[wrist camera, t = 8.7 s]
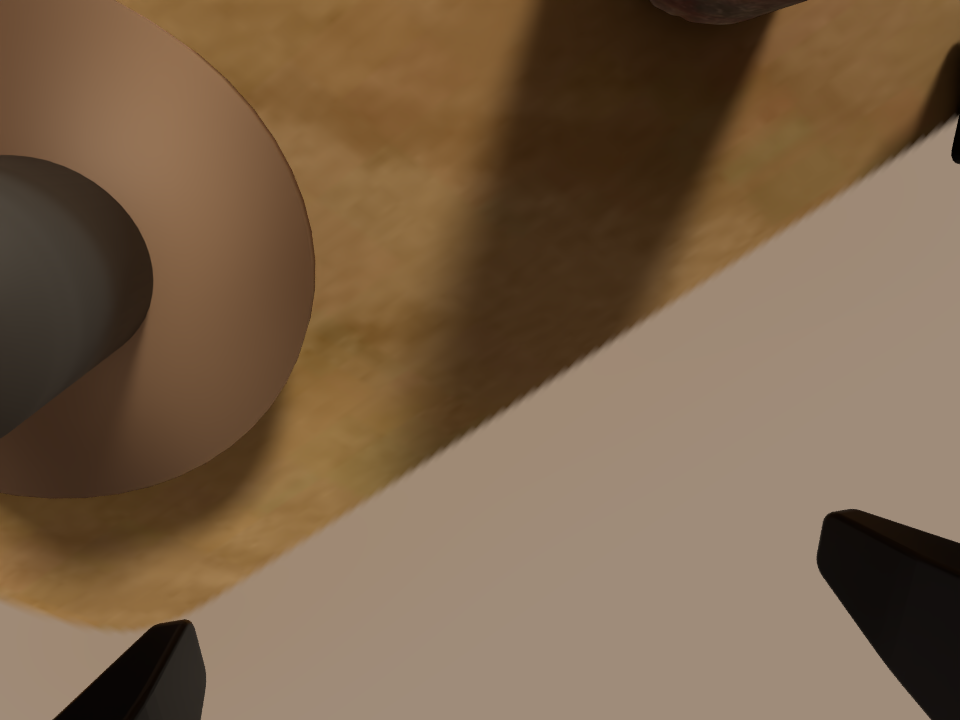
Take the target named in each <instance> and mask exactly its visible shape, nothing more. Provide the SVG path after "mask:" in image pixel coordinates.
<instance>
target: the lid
mask: <svg viewBox="0 0 960 720" xmlns="http://www.w3.org/2000/svg"><path fill="white" fill-rule="evenodd" d="M314 292H315V255H314V247H313V239H312V231H311V227H310V223H309V219H308V215H307V211H306V207H305V204H304V200H303V197H302V195H301V192H300V190H299V187H298V185H297V182H296V180H295V177H294V175H293V172H292V170H291V168H290V166H289V164H288V162H287V160H286V159H285V157H284V155H283V153H282V151H281V149H280V147H279V146H278V144H277V142H276V140H275V138H274V137H273V136H272V134H271V133H270V131H269V130H268V129H267V127H266V126H265V124H264V123H263V121H262V120H261V119H260V117H259V116H258V114H257V113H256V112H255V110H254V109H253V108H252V107H251V105H250V104H249V103H248V102H247V101H246V100H245V99H244V98H243V96H242V95H241V94H240V93H239V92H238V91H237V90H236V89H235V88H234V86H233V85H232V84H231V83H230V82H229V81H228V80H227V79H226V78H225V77H224V76H223V75H221V74H220V73H219V72H218V71H217V70H216V69H215V68H214V67H213V66H211V65H210V64H209V63H208V62H207V61H206V60H205V59H204V58H202V57H201V56H200V55H199V54H198V53H196V52H195V51H193V50H192V49H191V48H189V47H188V46H186V45H185V44H184V43H182V42H181V41H179V40H178V39H177V38H175V37H174V36H172V35H171V34H170V33H168V32H167V31H165V30H164V29H162V28H161V27H159V26H158V25H156V24H155V23H153V22H152V21H150V20H149V19H147V18H146V17H144V16H142V15H140V14H138V13H137V12H135V11H133V10H131V9H129V8H128V7H126V6H124V5H122V4H121V3H119V2H117V1H115V0H0V493H5V494H11V495H17V496H29V497H40V498H88V497H97V496H105V495H114V494H120V493H125V492H129V491H133V490H138V489H142V488H146V487H150V486H153V485H156V484H159V483H162V482H164V481H167V480H170V479H173V478H176V477H179V476H181V475H183V474H185V473H187V472H189V471H191V470H193V469H195V468H197V467H199V466H201V465H203V464H205V463H207V462H208V461H210V460H211V459H213V458H214V457H216V456H217V455H219V454H220V453H222V452H223V451H225V450H226V449H228V448H229V447H231V446H232V445H233V444H234V443H235V442H236V441H238V440H239V439H240V438H241V437H242V436H243V435H245V434H246V433H247V432H248V431H249V430H250V429H251V428H252V427H253V426H254V425H255V424H256V423H257V422H258V421H259V419H260V418H261V417H262V416H263V415H264V414H265V413H266V411H267V410H268V409H269V408H270V407H271V405H272V404H273V402H274V401H275V399H276V398H277V396H278V395H279V393H280V392H281V390H282V389H283V387H284V386H285V384H286V382H287V380H288V378H289V376H290V374H291V372H292V369H293V367H294V365H295V363H296V361H297V359H298V356H299V353H300V350H301V347H302V344H303V341H304V337H305V334H306V331H307V327H308V324H309V321H310V318H311V311H312V305H313V298H314Z"/></svg>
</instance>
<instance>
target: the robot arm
mask: <svg viewBox="0 0 960 720" xmlns="http://www.w3.org/2000/svg"><path fill="white" fill-rule="evenodd" d="M951 156H952V159H953V161H954V162H955V163H957V164H960V114H959V119H958V123H957V128H956V133H955V137H954V142H953V147H952V154H951ZM817 565H818V568H819V571H820V573H821V574H822V576H823V578H824V579H825V580H826V582H827V583H828V585H829V586H830V587H831V589H832V590H833V592H834V593H835V594H836V596H837V597H838V599H839V600H840V601H841V602H842V604H843V606H844V607H845V608H846V610H847V611H848V613H849V614H850V615H851V617H852V618H853V619H854V621H855V622H856V624H857V625H858V627H859V628H860V630H861V631H862V632H863V634H864V635H865V637H866V638H867V639H868V641H869V642H870V644H871V645H872V646H873V648H874V649H875V650H876V652H877V653H878V655H879V656H880V657H881V658H882V660H883V661H884V663H885V664H886V665H887V667H888V668H889V669H890V670H891V672H892V673H893V674H894V676H895V677H896V678H897V679H898V681H899V682H900V683H901V684H902V686H903V687H904V688H905V689H906V690H907V692H908V693H909V694H910V695H911V696H912V697H913V699H914V700H915V701H916V702H917V703H918V705H920V707H921V708H922V709H923V711H924V712H925V713H926V714H927V715H928V716H929V718H930V719H931V720H960V543H958V542H954V541H951V540H948V539H945V538H942V537H939V536H936V535H933V534H930V533H927V532H924V531H921V530H918V529H915V528H912V527H909V526H906V525H903V524H900V523H897V522H894V521H891V520H888V519H885V518H882V517H879V516H876V515H873V514H870V513H867V512H864V511H860V510H857V509H848V510H842V511H836V512H831V513H829V514H828V515H827V516H826V517H825V518H824V521H823V525H822V530H821V535H820V541H819V546H818V551H817ZM205 687H206V672H205V666H204V662H203V658H202V655H201V650H200V647H199V643H198V639H197V635H196V631H195V628H194V626H193V624H192V622H190V621H189V620H186V619H184V620H178V621H172V622H166V623H160V624H157V625H154V626H153V627H151V628H150V629H149V630H148V631H147V632H146V633H144V634H143V635H142V636H141V637H140V638H139V639H138V640H137V641H136V642H135V643H134V644H133V645H132V646H131V647H130V648H129V649H128V650H126V651H125V652H124V653H123V654H122V655H121V656H120V657H119V658H118V659H117V660H116V661H115V662H114V663H113V664H111V665H110V666H109V668H107V669H106V670H105V671H104V672H103V673H102V674H101V675H100V676H99V677H98V678H97V679H96V680H95V681H94V682H92V683H91V684H90V685H89V686H88V687H87V688H86V689H85V690H84V691H83V692H82V693H81V694H80V695H79V696H77V698H75V699H74V700H73V701H72V702H71V703H70V704H69V705H68V706H67V707H66V708H65V709H64V710H63V711H61V712H60V714H58V715H57V716H56V717H55V718H54V719H53V720H201V714H202V707H203V701H204V695H205Z"/></svg>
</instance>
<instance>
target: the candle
mask: <svg viewBox="0 0 960 720" xmlns="http://www.w3.org/2000/svg"><path fill="white" fill-rule="evenodd" d="M804 1H807V0H650V2H651V3H652V4H653V5H654V6H655V7H657V8H659V9H662V10H664V11H665V12H667V13H668V14H670V15H674V16H680V17H682V18H683V19H685V20H687V21H690V22H696V23H704V24H715V25H720V24H734V23H738V22H741V21H745V20H749V19H752V18H755V17H758V16H761V15H763V14H766V13H770V12H773V11H776V10H779V9H782V8H785V7H789V6H792V5H795V4H798V3H801V2H804Z"/></svg>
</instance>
